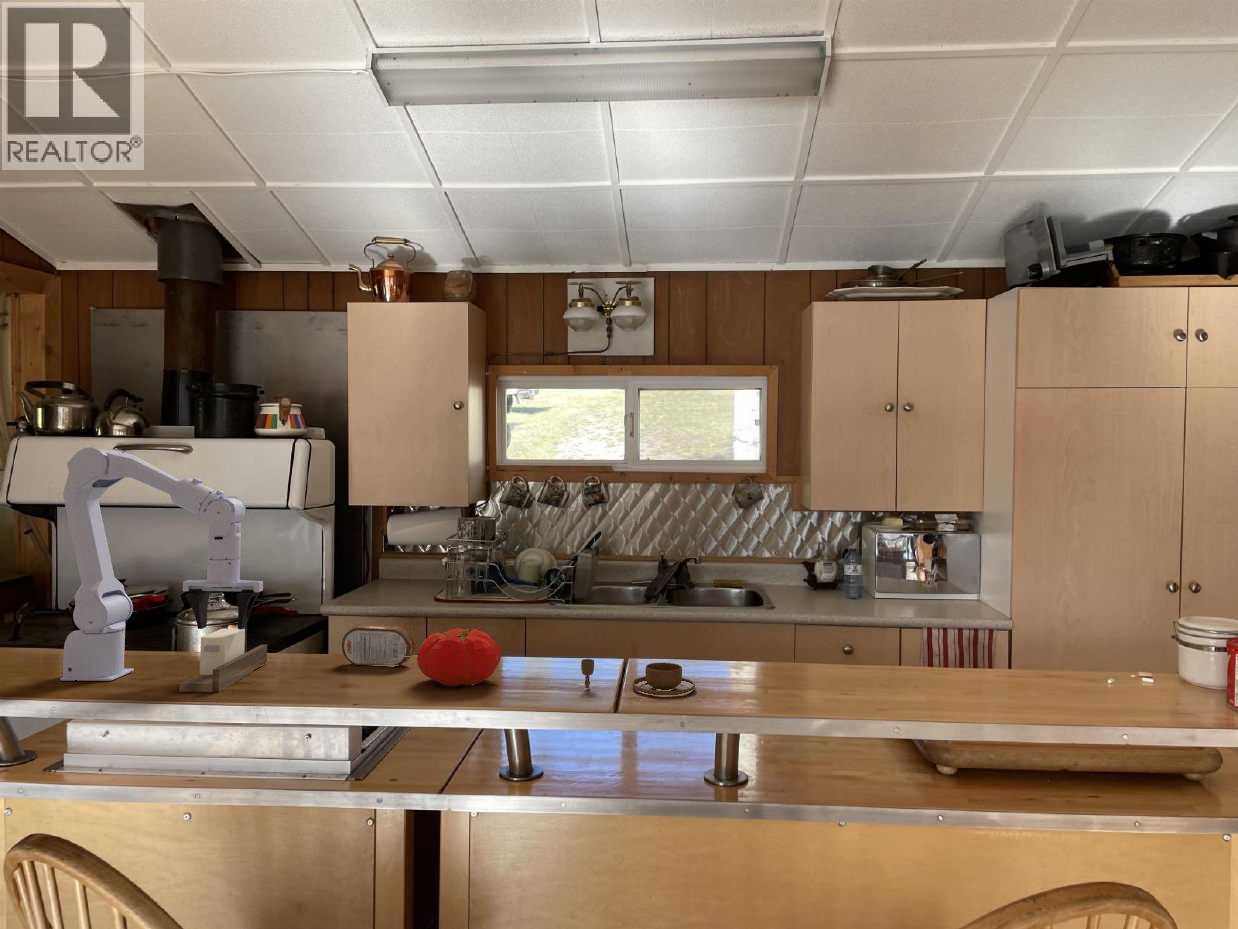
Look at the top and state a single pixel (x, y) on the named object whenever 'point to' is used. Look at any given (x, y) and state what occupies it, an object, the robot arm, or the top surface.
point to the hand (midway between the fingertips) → (222, 628)
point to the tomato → (459, 657)
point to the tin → (377, 645)
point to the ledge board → (226, 672)
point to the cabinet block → (220, 648)
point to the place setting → (649, 677)
